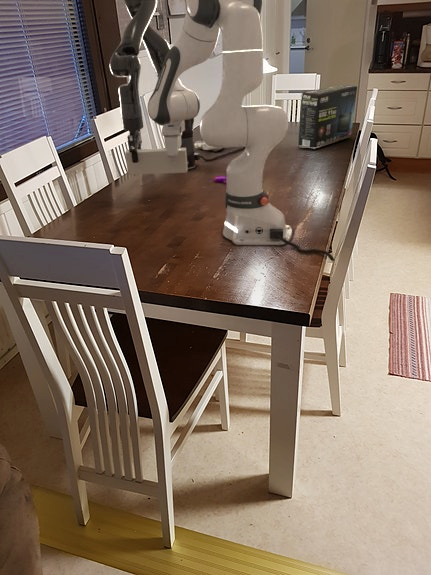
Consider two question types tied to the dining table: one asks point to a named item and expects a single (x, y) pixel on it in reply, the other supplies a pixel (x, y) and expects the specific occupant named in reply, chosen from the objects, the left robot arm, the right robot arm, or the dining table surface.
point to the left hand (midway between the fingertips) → (137, 159)
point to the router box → (326, 115)
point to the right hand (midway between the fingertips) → (176, 163)
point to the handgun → (220, 179)
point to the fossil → (206, 146)
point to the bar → (156, 162)
